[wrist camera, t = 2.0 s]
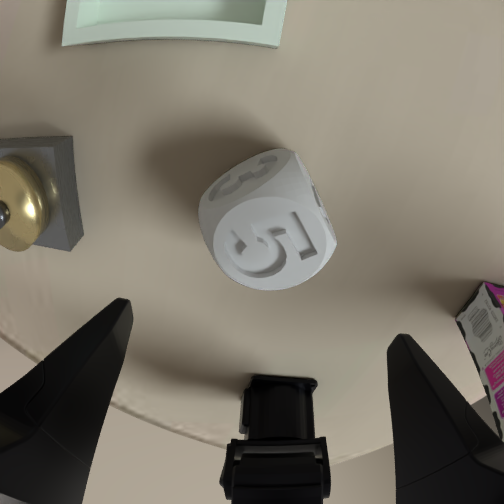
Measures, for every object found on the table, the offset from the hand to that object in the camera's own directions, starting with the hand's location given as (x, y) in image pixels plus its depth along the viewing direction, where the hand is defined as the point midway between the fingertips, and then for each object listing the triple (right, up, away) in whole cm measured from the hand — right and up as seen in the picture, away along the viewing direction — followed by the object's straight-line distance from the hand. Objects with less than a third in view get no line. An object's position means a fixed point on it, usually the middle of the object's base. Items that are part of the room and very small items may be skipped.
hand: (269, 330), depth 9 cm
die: (0, +6, +8) cm, 10 cm away
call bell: (-16, +7, +7) cm, 19 cm away
